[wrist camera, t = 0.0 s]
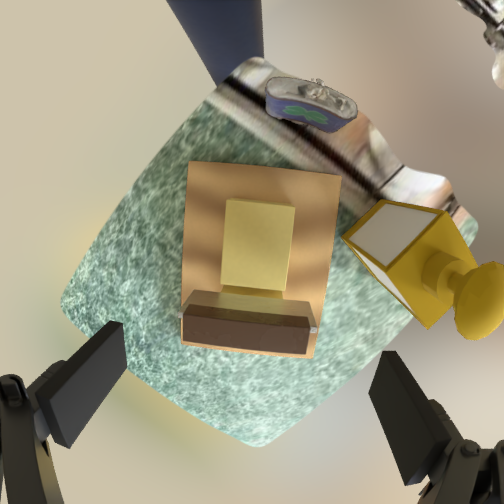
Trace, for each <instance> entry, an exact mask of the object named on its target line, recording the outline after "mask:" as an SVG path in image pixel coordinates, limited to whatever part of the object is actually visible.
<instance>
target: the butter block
mask: <svg viewBox="0 0 504 504" xmlns="http://www.w3.org/2000/svg"><path fill="white" fill-rule="evenodd" d="M294 215H295V206H294V205H292V204H288V203H279V202H270V201H260V200H250V199H239V198H231V199H228V200H226V211H225V223H224V236H223V249H222V263H221V277H220V284H225V285H234V286H243V287H252V288H261V289H271V290H281V291H285V287H286V280H287V272H288V265H289V257H290V249H291V240H292V232H293V224H294Z"/></svg>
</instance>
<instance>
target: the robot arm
mask: <svg viewBox="0 0 504 504" xmlns="http://www.w3.org/2000/svg"><path fill="white" fill-rule="evenodd" d="M126 368H127V360H126V352H125V342H124V332H123V323H120V322H115V321H111V320H110V321H109V322H108V323H106V324H105V325H104V326H103V327H102V328H101V329H100V330H99V331H98V332H97V333H96V334H95V335H94V336H92V337H91V338H90V339H89V340H88V341H87V342H86V343H85V344H84V345H83V346H82V347H81V348H80V349H79V350H78V351H77V352H76V353H75V354H73V356H71V357H70V358H69V359H68V360H67V361H64V360H60V361H58V362H56V363H54V364H52V365H51V366H50V367H49V368H48V369H47V370H46V371H45V372H43V373H42V374H41V376H39V377H38V378H37V379H36V380H35V381H34V382H33V383H32V384H31V385H30V386H29V387H28V388H27V389H25V386H24V383H23V380H22V378H20V377H19V376H17V375H14V374H8V375H3V376H1V377H0V500H1V490H2V482H3V475H4V478H5V485H6V492H7V498H8V504H64V501H63V498H62V495H61V491H60V488H59V484H58V481H57V477H56V473H55V470H54V466H53V462H52V457H51V453H50V448H49V443H48V441H47V439H46V438H47V437H48V436H49V434H50V433H51V435H52V438H53V439H54V442H55V443H57V444H59V445H62V446H64V447H66V448H68V449H70V447H71V446H72V444H73V443H74V442H75V440H76V439H77V437H78V436H79V434H80V433H81V431H82V430H83V429H84V427H85V426H86V424H87V423H88V421H89V420H90V418H91V417H92V416H93V414H94V413H95V411H96V410H97V409H98V407H99V406H100V404H101V403H102V402H103V400H104V399H105V397H106V396H107V395H108V393H109V392H110V390H111V389H112V387H113V386H114V385H115V383H116V382H117V381H118V379H119V378H120V377H121V375H122V374H123V372H124V371H125V370H126ZM368 394H369V396H370V398H371V401H372V403H373V406H374V408H375V410H376V413H377V415H378V418H379V420H380V423H381V425H382V428H383V430H384V433H385V435H386V438H387V440H388V443H389V445H390V448H391V450H392V453H393V455H394V458H395V461H396V463H397V466H398V469H399V471H400V474H401V477H402V479H403V482H404V485H405V486H408V485H413V484H417V483H421V482H422V480H423V479H424V478H425V476H426V475H427V474H428V477H429V479H430V481H429V482H428V484H427V485H426V486H425V487H424V488H423V490H422V491H421V492H420V493H419V495H421V494H422V495H421V497H420V499H419V501H418V503H417V504H504V440H501V441H499V442H498V443H497V445H496V446H495V447H494V449H481V448H480V446H479V445H478V444H477V443H476V442H474V441H472V440H467V439H465V440H464V439H463V437H462V436H461V434H460V433H459V431H458V430H457V428H456V427H455V425H454V423H453V422H452V420H450V417H449V416H448V414H446V411H445V410H444V408H443V407H442V405H441V404H439V403H438V402H437V401H435V400H434V399H431V400H428V399H427V397H426V396H425V394H424V393H423V391H422V389H421V388H420V386H419V385H418V383H417V382H416V380H415V379H414V377H413V376H412V374H411V373H410V371H409V370H408V368H407V367H406V365H405V364H404V362H403V361H402V359H401V358H400V356H399V355H398V354H397V352H396V351H382V355H381V358H380V361H379V364H378V367H377V370H376V373H375V376H374V379H373V381H372V384H371V387H370V390H369V393H368Z"/></svg>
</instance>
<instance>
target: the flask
mask: <svg viewBox="0 0 504 504" xmlns="http://www.w3.org/2000/svg"><path fill="white" fill-rule="evenodd" d="M311 80H312V81H313V80H314V79H311ZM316 81H317V83H314V82H310V81H307V80H301V79H295V78H288V77H273V78H271V79H269V81H268V82H267V84H266V87H265V92H266V111H267V113H268V114H269V115H271V116H273V117H276V118H278V119H281V118H283V119H287V120H290V121H292V122H295V123H296V124H308V125H309V126H310V127H317V128H318V129H319V130H322V131H324V132H327V133H333V132H335V131H338V129H340V128H341V127H343V126H344V125H346V124H347V123H349V122H351V121H352V120H353V119H355V118H357V113H358V110H357V105H356V103H355V102H354V101H353V100H352V99H350V98H349V97H347V96H345V95H343V94H341V93H339V92H337V91H335V90H333V89H331V88H329V87H327V86H324V82H323V81H322V80H320V79H316ZM318 83H320V84H318Z"/></svg>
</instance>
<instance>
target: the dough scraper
mask: <svg viewBox="0 0 504 504" xmlns="http://www.w3.org/2000/svg"><path fill="white" fill-rule="evenodd" d="M178 318H182V319H183V341H186V342H193V343H199V344H206V345H213V346H221V347H228V348H237V349H245V350H255V351H265V352H275V353H287V354H301V355H306V351H307V347H308V342H309V336H310V333H317V328H318V327H317V324H316V321H315V318H314V315H313V312H312V309H311V306H310V302H308V301H297V300H286V299H276V298H266V297H257V296H247V295H238V294H230V293H221V292H213V291H205V290H197V289H194V290H193V291H192V293H191V294H190V295H189V297H188V298H187V300H186V301H185V303H184V304H183V305H182V307H181V308H180V310H179V311H178Z"/></svg>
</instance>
